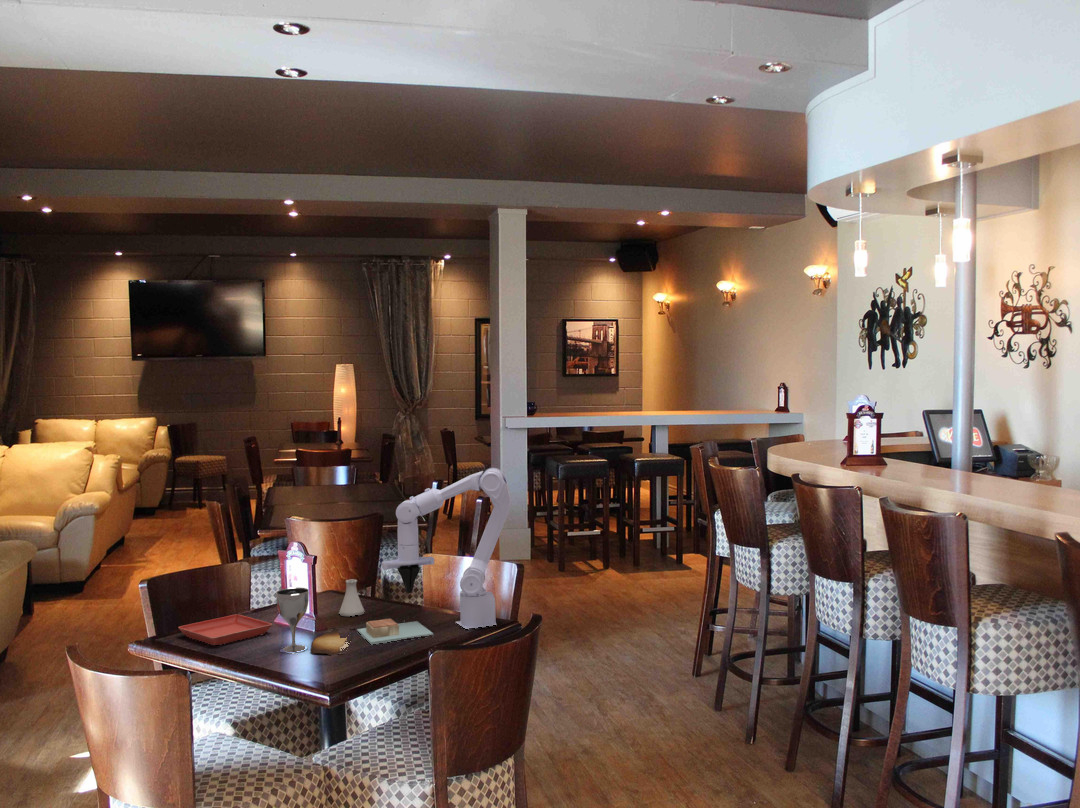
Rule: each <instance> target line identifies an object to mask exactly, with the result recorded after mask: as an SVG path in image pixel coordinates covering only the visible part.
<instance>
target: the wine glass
mask: <svg viewBox="0 0 1080 808" xmlns="http://www.w3.org/2000/svg"><path fill="white" fill-rule="evenodd" d="M275 597H276V605H277V611H278V613H279V615H280V616H281V617H282V618H283V620H284V621H286V623H287V624H288V625H289V628H290V634H291V644H290V645H286V646H287V647H286V646H284V647H285V648H283V647H282V648H283V650H284V651H287V652H297V651H301V650H304V649H305V646H306V645H304V646H302V644H301V645H300V644H296V629H297V625H298V623H299V622H300V621H301V619H302V618H304V616H305V614H306V613H307V611H308V606H309V599H310V594H309V589H308V588H306V587H287V588H282V589H278V590H277V591H276V596H275Z"/></svg>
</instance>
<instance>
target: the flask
mask: <svg viewBox="0 0 1080 808" xmlns="http://www.w3.org/2000/svg"><path fill="white" fill-rule="evenodd" d="M357 583H358V580H357V579H346V580H345V585H346V588H345V594H344V597H343V600H342V604H341V607H340V609H339V612H338V615H339V614H340V615H339V616H342V617H350V616H352V617H356V616H355V615H358V616H361V615H363V614H365V613H366V611H365V608H364V606H363V605H362V601H361V599H360V596H359V594H358V589H357ZM364 612H365V613H364Z"/></svg>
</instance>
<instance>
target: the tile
mask: <svg viewBox="0 0 1080 808" xmlns="http://www.w3.org/2000/svg"><path fill="white" fill-rule="evenodd" d="M365 624H366V625H365V626H366V627H365V628H366V632H367V633H368V634H369V635H370V636H371V637H373V638H379V637H386V636H393V635H399V625H398V624H399V623H397V622H396V621H394V620H393V619H392V618H384V619H379V620H377V619H376V620H370V621H367V622H366V623H365Z"/></svg>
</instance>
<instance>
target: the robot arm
mask: <svg viewBox="0 0 1080 808" xmlns="http://www.w3.org/2000/svg"><path fill="white" fill-rule="evenodd" d="M470 490H471V491H476V492H477V491H478V492H480V490H483V493H485V494H486V495H487V497H489V499H490V501H491V504H492V505H493V508H492V511H491V512H490V513H491V514H490V516H489V518H488V521H487V523H486V525H485V528H484V530H483V533H482V536H481V538H480V541H479V543H478V546H477V548H476V550H475V554H474V556H473V558H472V560H471V562H470V566H469V567H467V568H466V569H465V570H464V571H463V574H462V577H461V579H460V581H459V586H460V592H459V609H460V610H459V612H460V614H459V615H460V620H458V621H457V620H456V621H455V624H456V623H457V624H459V625H460V626H462V627H463V628H465V629H468V630H470V629H469V628H475V629H479V628H478V627H482V628H487V627H486V626H489V627H494V626H493V625H496V626H497V622H496V619H497V618H496V616H497V615H496V614H497V613H496V599H495V596H494V593H493V591H487V590H486V589H485V588H484V584H485V581H486V573H485V572H486V571H487V570H486V569H487V568H488V565H489V562H490V560H491V558H492V555H493V553H494V550H495V547H496V545H497V543H498V539H499V537H500V535H501V532H502V529H503V527H504V525H505V522H506V520H507V517H508V515H509V513H510V510H511V508H512V498H511V493H510V489H509V483H508V480H507V478H506V476H505V474H504V473H503V472H502V470H500V469H499V468H498V467H497V468H496V467H489V468H487V469H486V470H485V471H484V470H481V471H479V472H478V471H477V472H475V473H473V474H470V475H467V476H465V477H464V478H462V479H460V480H458V481H456V482H454V483H452V484H450V485H447V486H445V487H444V488H442V489H437V488H435V487H433V488H429V487H428V488H427V487H426V489H424V492H422V493H420V494H417V495H416V496H414V495H412V496H410V497H409V499H405V500H404V501H403V502H401V503H400V504H398V506H397V507H396V510H395V516H396V518H397V559H391V560H385V561H382V562H381V566H382V567H381V569H383V570H385V571H387V570H390V569H397V571H398V573H399V576H400V578H401V579H402V582H403V586H404V590H405V594H412V593H413V589H414V585H415V582H416V579H417V576H418V575H419V573H420V571H421V567H420V566H427V565H430V566H432V565H435V557H434V556H421V557H420V555H419V553H420V552H419V549H420V548H419V547H420V546H419V525H418V517H419V516H420V517H423V516H425V515H427V514H429V513H431V512H433V511H437V510H438V509H440V508H443V505H444V503H445V501H446V500H448V499H451V498H453V497H456V496H458V495H460V494H462V493H465V492H467V491H470ZM457 624H456V625H457ZM459 625H458V626H459ZM460 626H459V627H460ZM462 627H461V628H462ZM463 628H462V629H463ZM465 629H464V630H465Z"/></svg>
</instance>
